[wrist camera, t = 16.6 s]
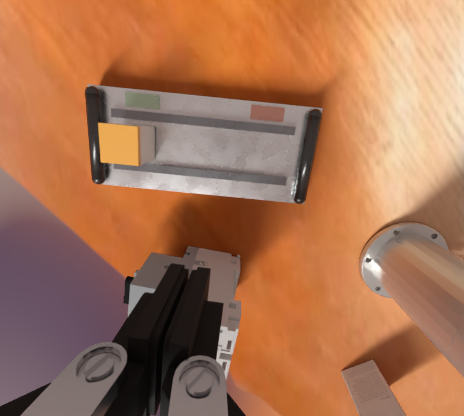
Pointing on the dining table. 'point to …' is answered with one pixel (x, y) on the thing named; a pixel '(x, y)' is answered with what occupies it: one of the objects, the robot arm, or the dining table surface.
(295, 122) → the panel
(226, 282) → the circuit breaker
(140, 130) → the toggle
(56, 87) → the dining table surface
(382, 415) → the small box
